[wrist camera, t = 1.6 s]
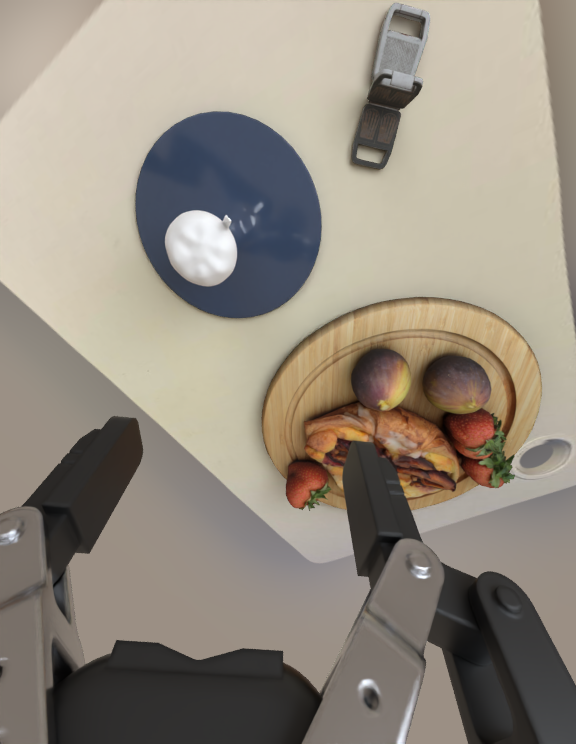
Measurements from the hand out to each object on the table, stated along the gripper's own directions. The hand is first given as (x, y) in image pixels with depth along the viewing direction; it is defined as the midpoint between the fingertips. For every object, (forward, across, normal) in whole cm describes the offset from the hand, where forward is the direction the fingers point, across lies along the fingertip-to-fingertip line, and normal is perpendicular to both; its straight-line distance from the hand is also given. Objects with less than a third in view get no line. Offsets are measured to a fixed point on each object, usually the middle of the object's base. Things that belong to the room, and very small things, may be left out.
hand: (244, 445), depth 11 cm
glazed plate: (+21, +4, -5) cm, 22 cm away
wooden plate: (+21, -16, +15) cm, 30 cm away
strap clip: (+21, -7, -15) cm, 27 cm away
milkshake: (+20, +4, -5) cm, 21 cm away
